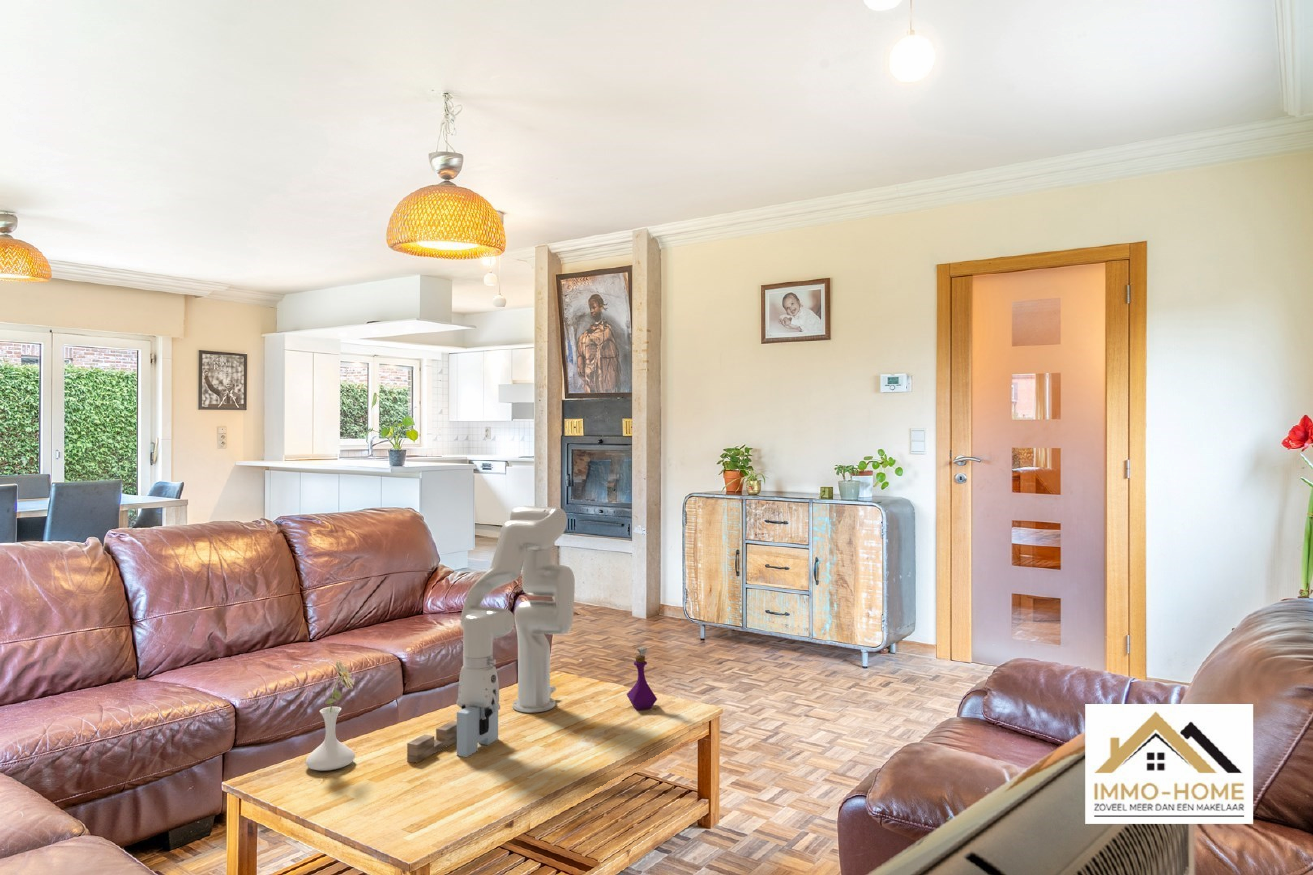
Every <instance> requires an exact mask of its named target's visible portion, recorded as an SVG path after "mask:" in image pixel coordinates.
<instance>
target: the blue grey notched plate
mask: <svg viewBox="0 0 1313 875" xmlns="http://www.w3.org/2000/svg"><path fill="white" fill-rule="evenodd" d="M490 707H491V708H492V707H493V706H492V704H491V706H490ZM480 719H481V709H480V707H474V706H468V707H466V708H464V709H462V708H461V710H459V711H456V721H457V742H456V756H457V755H459V756H458V757H462V756H463V757H462V758H468V757H470V756H471V755H473V754H475V753H476V751H477V752H478V749H479V747H478V744H481V745H487V746H488V745H490V744H492V743H494V742H495V740H496V741H497V740H499V710H498V711H496V712H494V713H493V714H492V715H491V716H490V717H489V729H488V732H487V733H485V734H483V735H480V733H479V729H480ZM472 753H473V754H472ZM469 755H470V756H469Z"/></svg>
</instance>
